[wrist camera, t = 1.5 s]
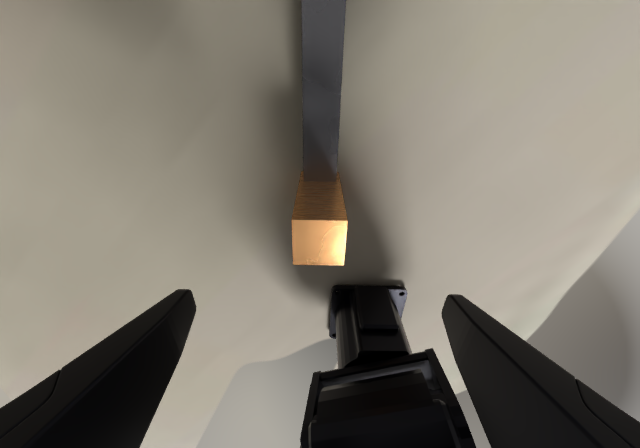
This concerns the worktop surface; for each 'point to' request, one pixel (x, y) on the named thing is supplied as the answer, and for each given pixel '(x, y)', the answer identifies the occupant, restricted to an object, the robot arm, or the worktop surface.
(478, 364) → the robot arm
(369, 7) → the worktop surface
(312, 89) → the hook tool
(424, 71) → the worktop surface
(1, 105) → the worktop surface
